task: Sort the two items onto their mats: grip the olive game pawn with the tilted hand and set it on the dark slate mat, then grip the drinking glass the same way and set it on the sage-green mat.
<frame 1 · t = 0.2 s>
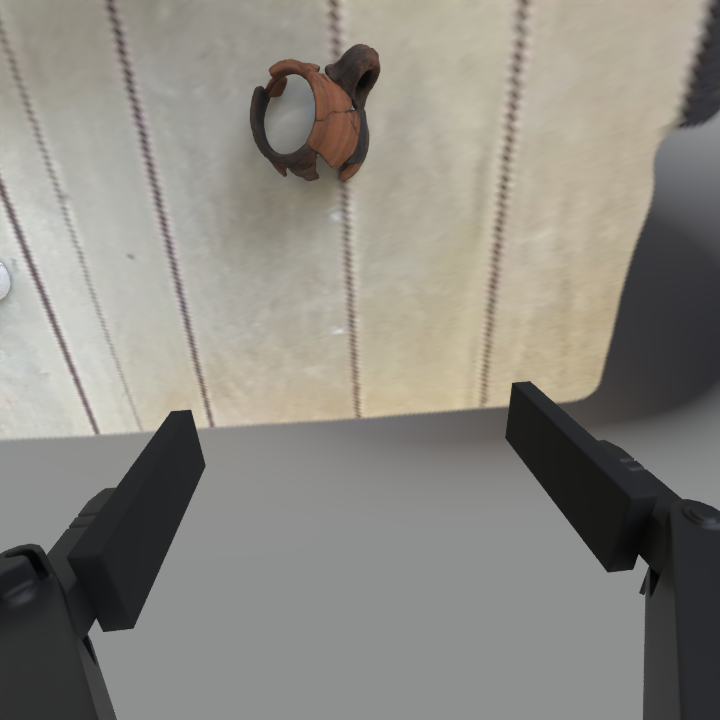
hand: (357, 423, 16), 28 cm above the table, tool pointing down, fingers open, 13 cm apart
brown notched ring: (324, 123, 35), on the table
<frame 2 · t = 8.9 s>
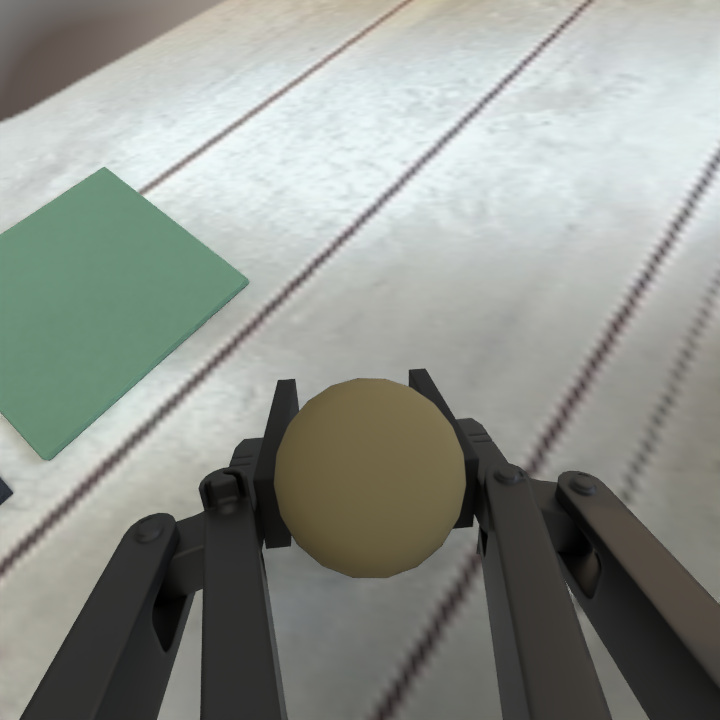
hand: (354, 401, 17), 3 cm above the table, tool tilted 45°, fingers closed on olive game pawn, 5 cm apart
olive game pawn: (359, 489, 19), on the table, touching gripper
sage mat: (83, 293, 23), on the table
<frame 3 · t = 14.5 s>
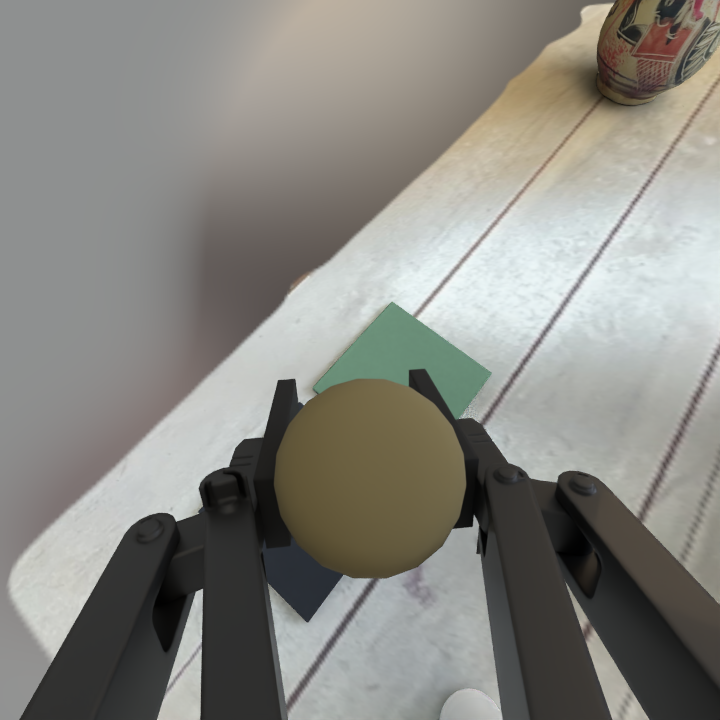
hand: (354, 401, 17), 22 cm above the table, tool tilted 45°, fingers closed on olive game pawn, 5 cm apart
olive game pawn: (359, 489, 19), point 19 cm above the table, touching gripper
ceramic jug: (627, 92, 61), on the table
slate mat: (303, 501, 37), on the table
sage mat: (402, 381, 42), on the table
when the fingers open (4 cm above the table, at t = 20.3 s): olive game pawn stays where it is, resting on slate mat.
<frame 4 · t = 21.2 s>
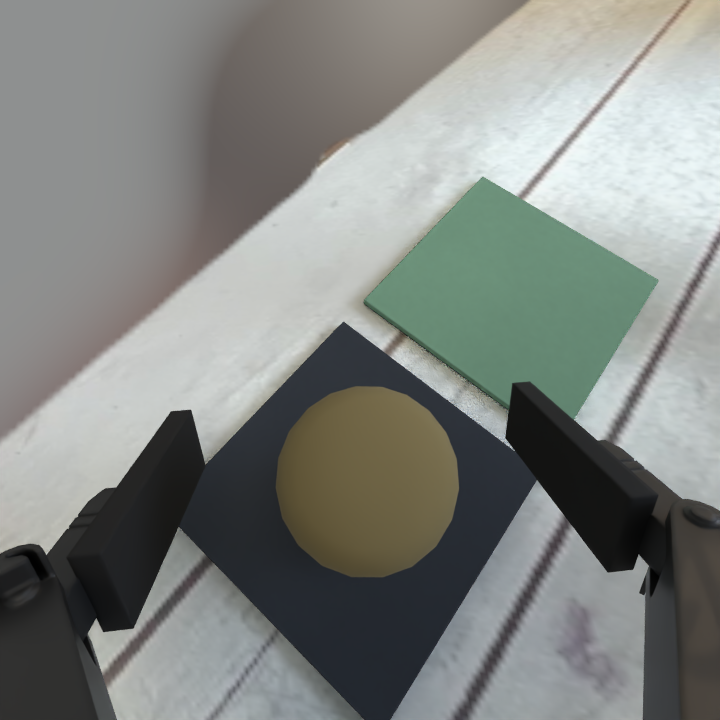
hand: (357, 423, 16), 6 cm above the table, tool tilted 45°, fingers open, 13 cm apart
olive game pawn: (358, 491, 20), resting on slate mat
slate mat: (358, 490, 20), on the table
sage mat: (512, 293, 25), on the table
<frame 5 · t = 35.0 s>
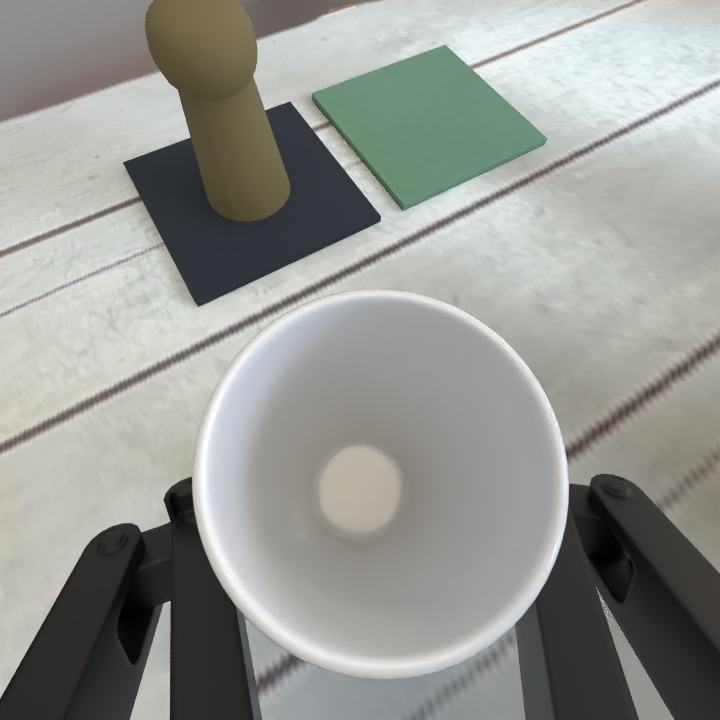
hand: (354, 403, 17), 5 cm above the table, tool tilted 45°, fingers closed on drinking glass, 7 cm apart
olive game pawn: (249, 191, 28), resting on slate mat
slate mat: (250, 194, 28), on the table
drinking glass: (359, 491, 21), on the table, touching gripper
sage mat: (426, 121, 32), on the table
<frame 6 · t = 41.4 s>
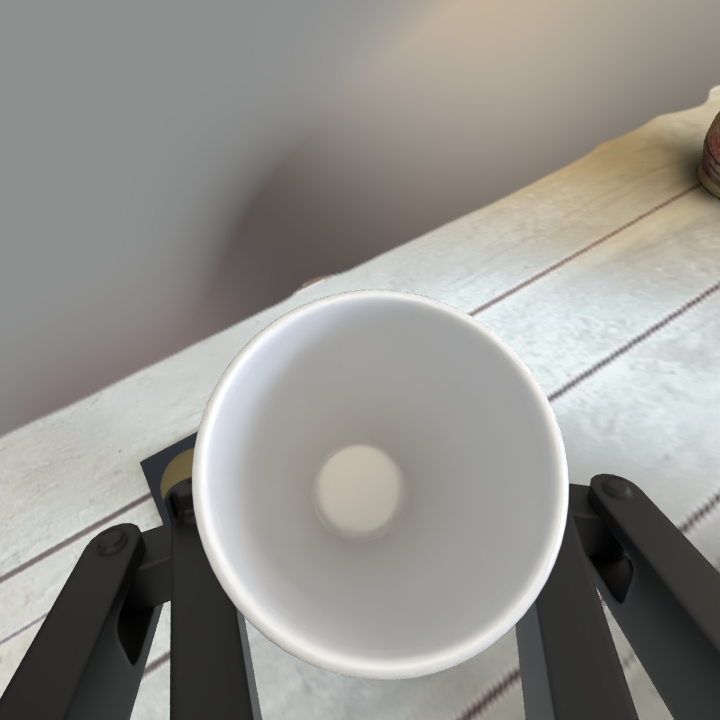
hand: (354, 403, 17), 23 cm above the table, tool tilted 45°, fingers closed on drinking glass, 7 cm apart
olive game pawn: (234, 488, 37), resting on slate mat
slate mat: (234, 488, 38), on the table
drinking glass: (358, 491, 21), point 18 cm above the table, touching gripper
when the fingers open (5 cm above the table, at t = 47.9 s): drinking glass stays where it is, resting on sage mat.
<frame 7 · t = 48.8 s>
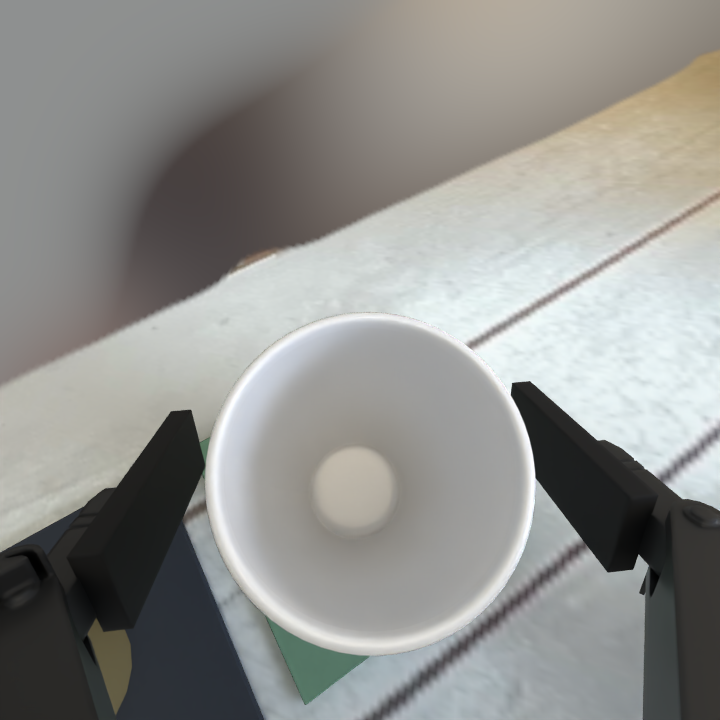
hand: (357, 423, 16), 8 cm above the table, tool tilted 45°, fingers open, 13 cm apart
olive game pawn: (68, 676, 18), resting on slate mat
slate mat: (73, 672, 18), on the table
drinking glass: (354, 490, 22), resting on sage mat
sage mat: (355, 490, 22), on the table
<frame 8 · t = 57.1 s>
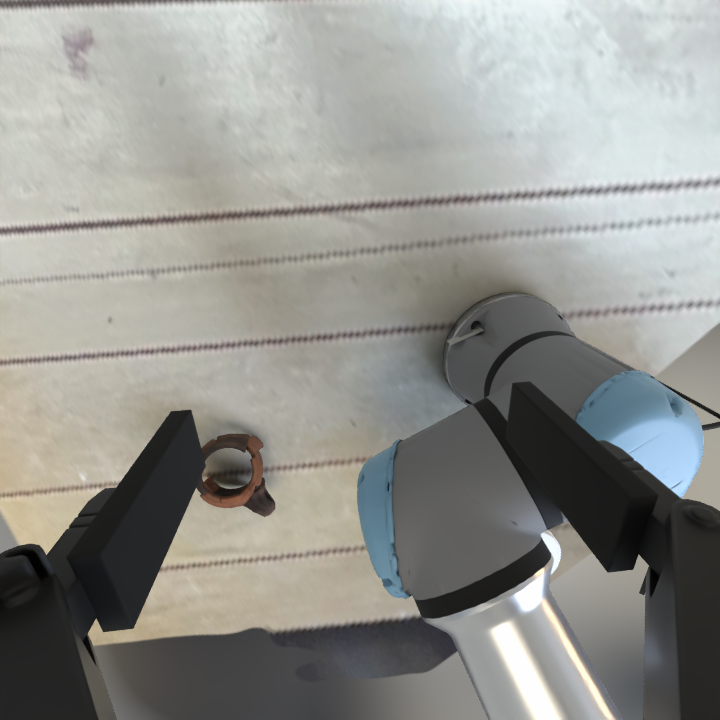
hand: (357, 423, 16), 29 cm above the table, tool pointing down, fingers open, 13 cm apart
brown notched ring: (242, 462, 50), on the table
plastic lid: (509, 548, 61), on the table
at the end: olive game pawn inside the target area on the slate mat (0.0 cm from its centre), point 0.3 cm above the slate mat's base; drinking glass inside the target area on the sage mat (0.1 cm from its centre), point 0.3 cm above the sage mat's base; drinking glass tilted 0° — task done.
